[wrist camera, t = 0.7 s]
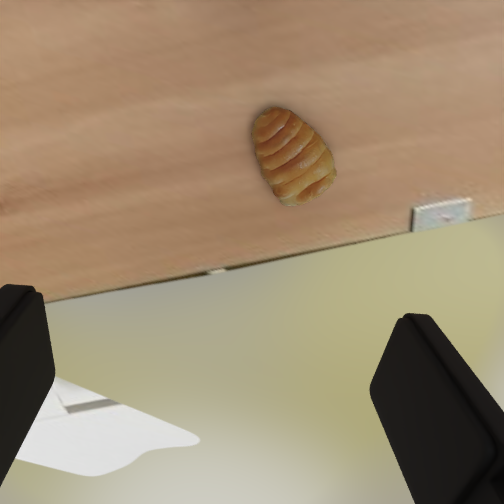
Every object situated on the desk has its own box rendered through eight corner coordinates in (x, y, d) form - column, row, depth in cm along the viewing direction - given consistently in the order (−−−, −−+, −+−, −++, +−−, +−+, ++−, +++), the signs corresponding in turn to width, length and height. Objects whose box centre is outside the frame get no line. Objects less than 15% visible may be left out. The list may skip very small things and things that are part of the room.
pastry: (233, 131, 35) (234, 140, 32) (292, 88, 33) (300, 92, 30) (284, 206, 39) (290, 220, 36) (339, 170, 38) (351, 181, 34)
